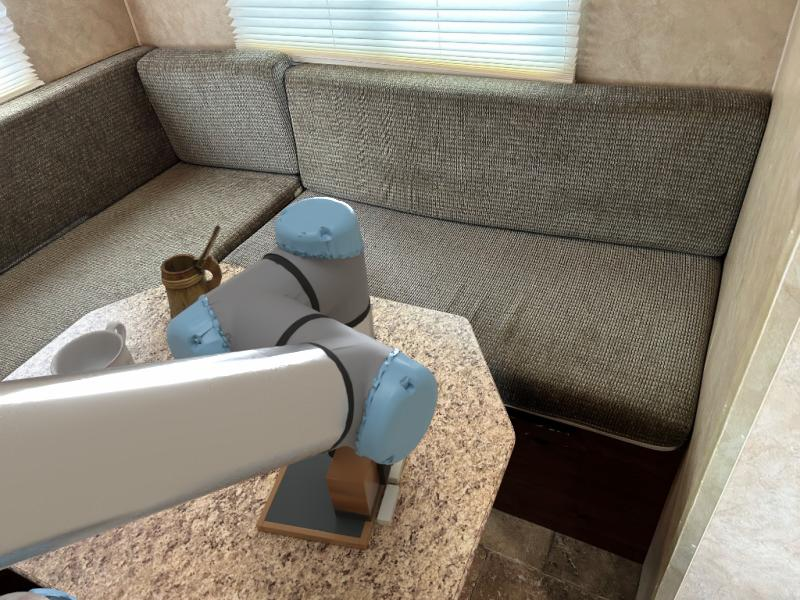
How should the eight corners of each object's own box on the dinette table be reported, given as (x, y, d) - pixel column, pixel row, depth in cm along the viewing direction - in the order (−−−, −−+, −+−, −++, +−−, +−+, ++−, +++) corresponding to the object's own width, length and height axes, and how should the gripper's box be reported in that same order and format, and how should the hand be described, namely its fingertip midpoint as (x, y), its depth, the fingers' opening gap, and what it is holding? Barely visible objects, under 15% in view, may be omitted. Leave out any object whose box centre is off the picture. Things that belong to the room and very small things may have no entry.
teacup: (110, 421, 91) (89, 385, 86) (55, 406, 94) (31, 370, 89) (167, 358, 101) (151, 322, 96) (116, 346, 104) (97, 310, 99)
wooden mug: (241, 327, 105) (213, 241, 94) (165, 332, 106) (128, 247, 95) (251, 295, 112) (226, 211, 101) (179, 299, 113) (146, 216, 101)
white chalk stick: (386, 482, 79) (398, 484, 78) (385, 476, 78) (397, 478, 78) (396, 450, 82) (407, 452, 82) (395, 445, 82) (406, 447, 81)
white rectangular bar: (377, 524, 74) (390, 526, 74) (376, 519, 74) (389, 521, 73) (387, 489, 78) (400, 491, 78) (387, 483, 77) (399, 485, 77)
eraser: (371, 522, 73) (363, 483, 68) (335, 516, 74) (325, 477, 69) (394, 442, 82) (389, 403, 77) (362, 437, 83) (354, 398, 78)
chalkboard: (366, 550, 72) (364, 545, 71) (257, 530, 75) (255, 525, 74) (400, 430, 85) (399, 424, 84) (307, 417, 88) (305, 412, 88)
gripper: (430, 323, 64) (438, 458, 78) (274, 309, 68) (310, 440, 82) (415, 375, 58) (428, 509, 73) (247, 356, 62) (291, 488, 77)
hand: (365, 472), depth 78 cm, fingers closed on eraser, 5 cm apart
